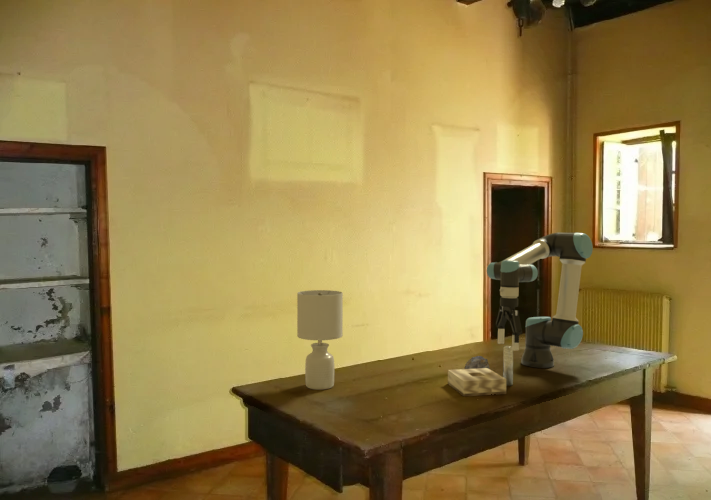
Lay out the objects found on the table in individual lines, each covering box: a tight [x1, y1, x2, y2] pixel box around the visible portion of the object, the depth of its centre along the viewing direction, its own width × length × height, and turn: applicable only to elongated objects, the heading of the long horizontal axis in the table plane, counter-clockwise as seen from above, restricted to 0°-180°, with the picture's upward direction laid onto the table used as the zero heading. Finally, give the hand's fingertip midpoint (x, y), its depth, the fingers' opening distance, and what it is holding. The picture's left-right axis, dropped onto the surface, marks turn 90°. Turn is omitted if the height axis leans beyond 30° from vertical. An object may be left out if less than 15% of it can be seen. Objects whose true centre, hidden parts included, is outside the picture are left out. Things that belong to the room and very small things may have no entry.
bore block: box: [447, 368, 507, 397], centre depth 237 cm, size 18×18×6 cm
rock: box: [464, 355, 491, 370], centre depth 260 cm, size 11×10×10 cm
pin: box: [502, 345, 514, 386], centre depth 244 cm, size 4×4×16 cm
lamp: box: [296, 289, 344, 391], centre depth 239 cm, size 19×19×39 cm
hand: (507, 347), depth 243 cm, fingers open, 13 cm apart
